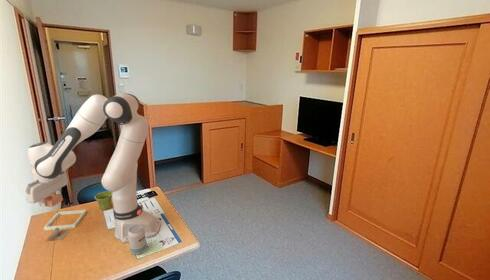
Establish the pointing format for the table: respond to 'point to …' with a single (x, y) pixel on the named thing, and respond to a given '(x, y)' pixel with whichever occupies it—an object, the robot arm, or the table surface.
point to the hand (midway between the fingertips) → (51, 201)
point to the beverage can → (137, 239)
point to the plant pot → (104, 200)
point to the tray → (48, 227)
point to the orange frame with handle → (52, 200)
